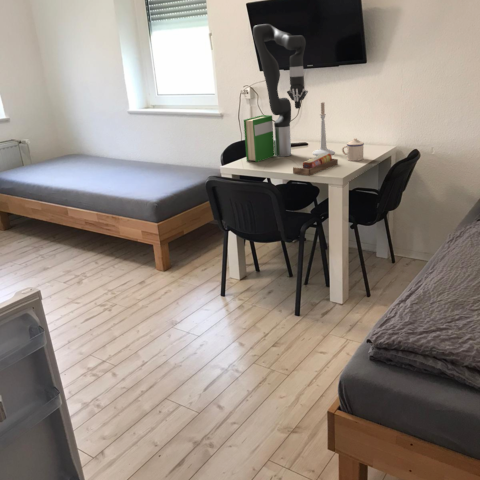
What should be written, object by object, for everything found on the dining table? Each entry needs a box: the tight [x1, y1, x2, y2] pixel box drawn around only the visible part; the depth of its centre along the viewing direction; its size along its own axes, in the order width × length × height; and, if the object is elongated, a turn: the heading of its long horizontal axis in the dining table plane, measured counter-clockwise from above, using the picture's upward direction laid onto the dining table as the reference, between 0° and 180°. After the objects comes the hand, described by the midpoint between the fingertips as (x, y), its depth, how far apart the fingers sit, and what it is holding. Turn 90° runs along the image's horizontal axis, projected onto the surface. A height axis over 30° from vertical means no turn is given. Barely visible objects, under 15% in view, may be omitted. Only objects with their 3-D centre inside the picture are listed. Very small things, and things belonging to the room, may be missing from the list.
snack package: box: [302, 152, 333, 169], centre depth 272 cm, size 21×7×7 cm, turn 143°
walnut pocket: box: [292, 158, 339, 176], centre depth 272 cm, size 10×26×3 cm, turn 137°
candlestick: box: [312, 101, 335, 157], centre depth 302 cm, size 13×13×30 cm
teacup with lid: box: [341, 137, 365, 162], centre depth 285 cm, size 12×9×12 cm
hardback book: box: [243, 114, 275, 163], centre depth 303 cm, size 18×7×24 cm, turn 141°
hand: (297, 108), depth 284 cm, fingers closed
